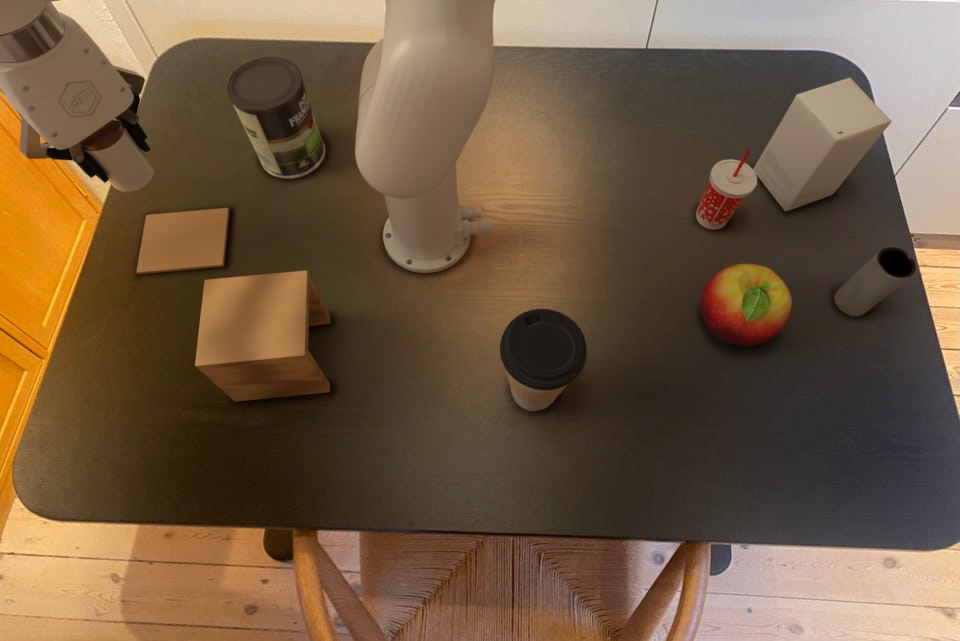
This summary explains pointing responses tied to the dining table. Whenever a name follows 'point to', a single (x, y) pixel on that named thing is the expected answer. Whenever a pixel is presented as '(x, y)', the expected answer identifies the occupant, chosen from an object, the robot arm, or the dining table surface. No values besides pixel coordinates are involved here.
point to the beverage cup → (725, 192)
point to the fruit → (746, 304)
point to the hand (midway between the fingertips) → (120, 159)
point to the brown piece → (261, 335)
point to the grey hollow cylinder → (875, 281)
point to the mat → (184, 241)
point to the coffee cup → (541, 356)
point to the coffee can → (277, 116)
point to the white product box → (819, 143)
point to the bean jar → (119, 156)
